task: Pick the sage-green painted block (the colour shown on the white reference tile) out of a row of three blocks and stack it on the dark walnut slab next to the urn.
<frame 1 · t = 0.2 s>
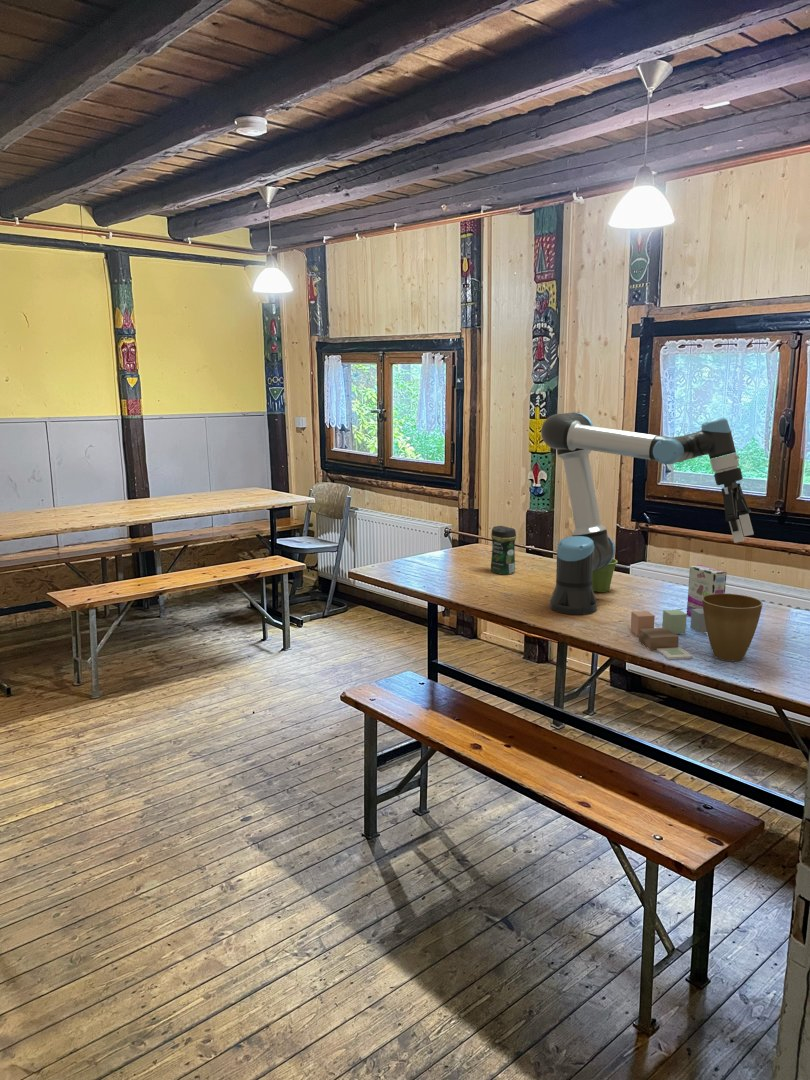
hand: (744, 538, 226), 27 cm above the table, tool tilted 20°, fingers open, 13 cm apart
sage block: (673, 631, 227), on the table
slate block: (702, 630, 228), on the table
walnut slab: (657, 646, 215), on the table
plant pot: (727, 657, 205), on the table
terracotta block: (641, 632, 225), on the table
coffee jar: (502, 572, 300), on the table
candy bar box: (704, 619, 238), on the table
reference tile: (674, 654, 207), on the table
plant pot 2: (599, 590, 273), on the table
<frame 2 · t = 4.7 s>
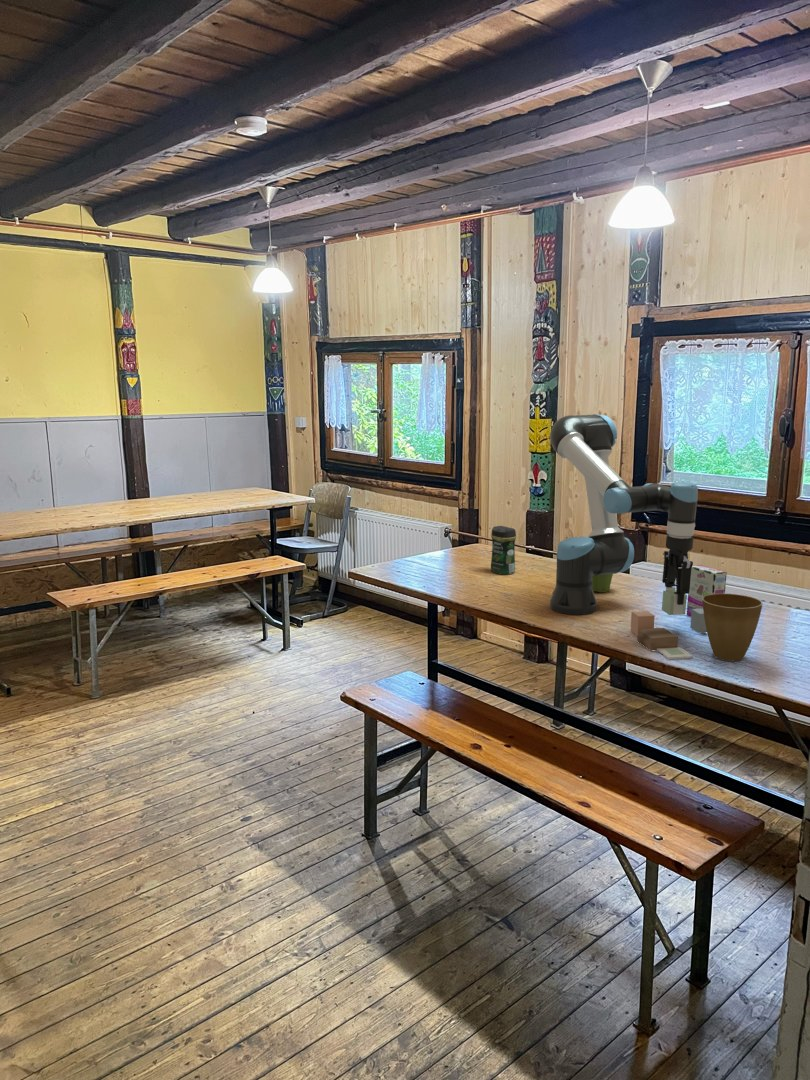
hand: (673, 611, 226), 6 cm above the table, tool pointing down, fingers closed on sage block, 5 cm apart
sage block: (673, 612, 226), point 6 cm above the table, touching gripper
everything else where it was.
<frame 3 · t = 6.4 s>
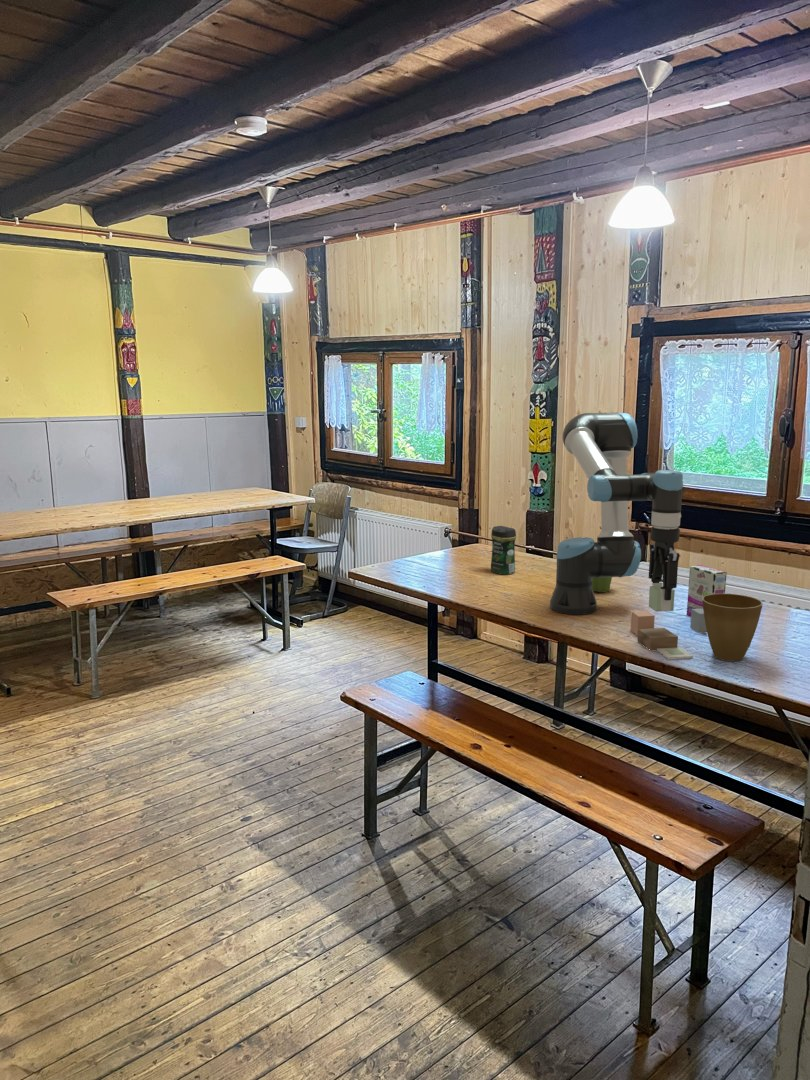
hand: (660, 607, 212), 11 cm above the table, tool pointing down, fingers closed on sage block, 5 cm apart
sage block: (660, 608, 212), point 11 cm above the table, touching gripper
everything else where it was.
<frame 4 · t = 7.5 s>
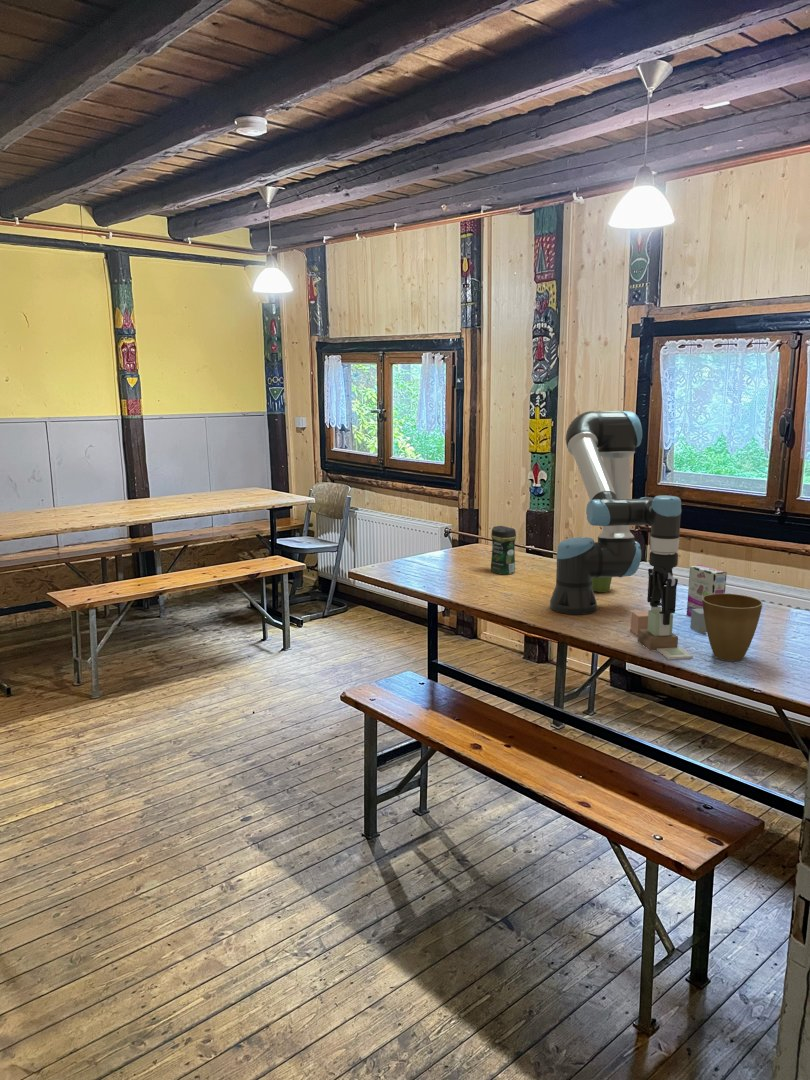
hand: (659, 631, 214), 4 cm above the table, tool pointing down, fingers closed on sage block, 5 cm apart
sage block: (659, 632, 214), point 4 cm above the table, touching gripper
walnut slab: (657, 646, 214), on the table, touching gripper
everything else where it was.
when the fingers open (4 cm above the table, at t = 8.3 s): sage block stays where it is, resting on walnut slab.
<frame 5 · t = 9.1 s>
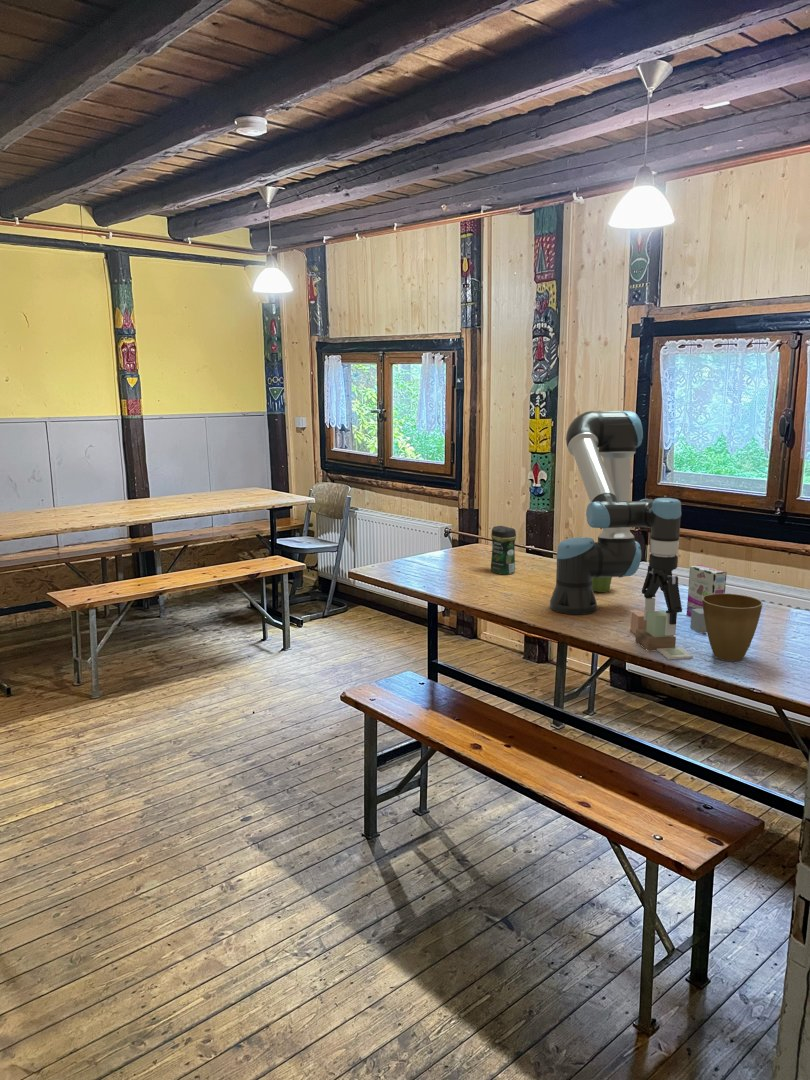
hand: (659, 627, 214), 5 cm above the table, tool pointing down, fingers open, 13 cm apart
sage block: (658, 634, 213), point 4 cm above the table, touching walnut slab
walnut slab: (654, 646, 214), on the table, touching sage block
everything else where it was.
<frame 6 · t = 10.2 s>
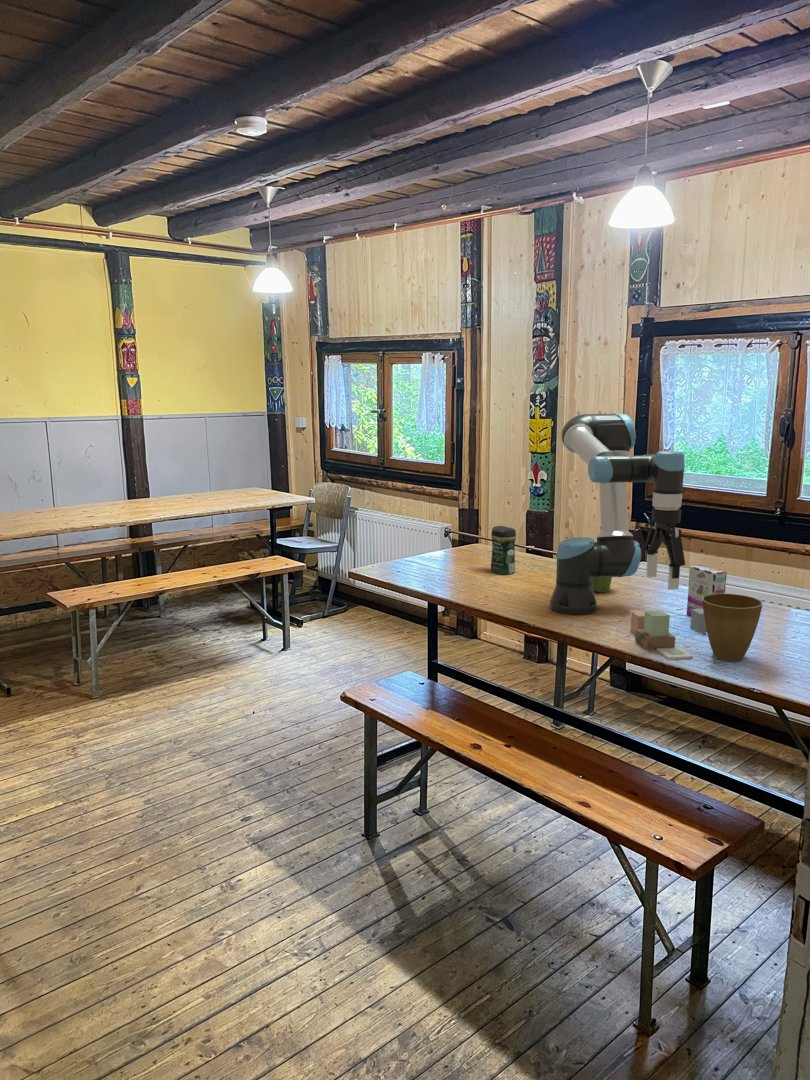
hand: (661, 582, 211), 18 cm above the table, tool pointing down, fingers open, 13 cm apart
nothing on the table moved.
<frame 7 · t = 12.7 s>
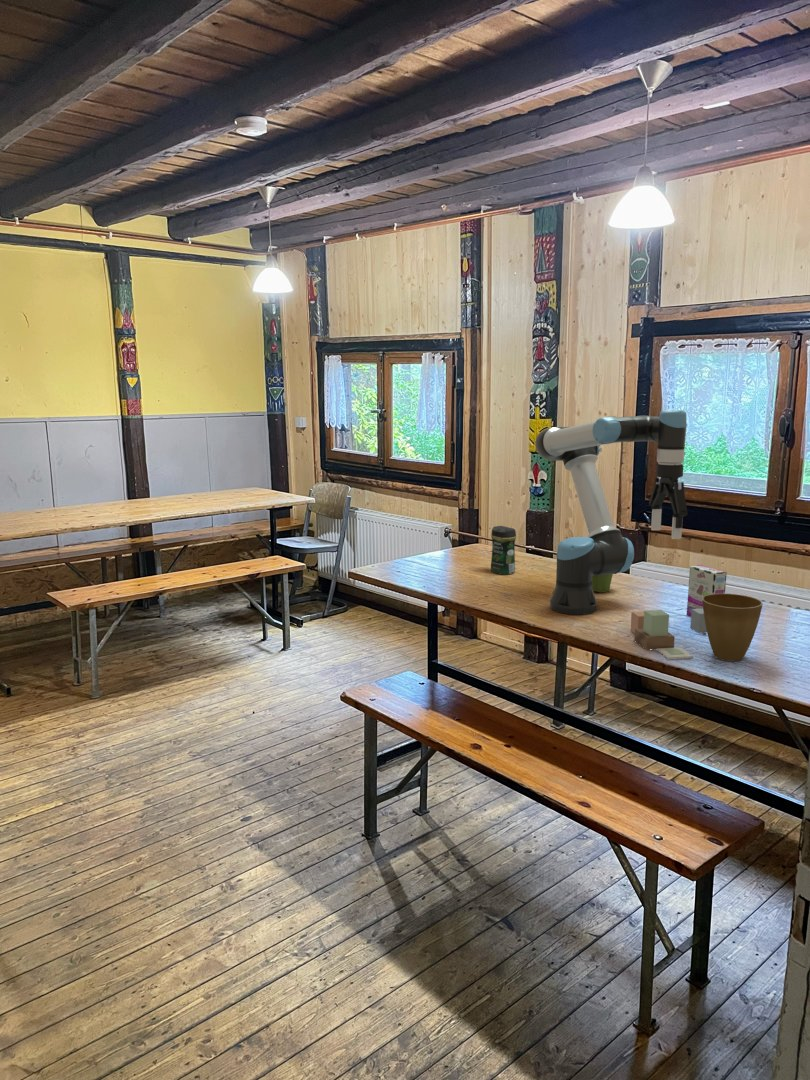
hand: (665, 534, 225), 29 cm above the table, tool pointing down, fingers open, 13 cm apart
at the end: sage block 0.4 cm off-centre on the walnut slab, point 4.0 cm above the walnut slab's base; sage block tilted 0°; the gripper is holding nothing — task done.
